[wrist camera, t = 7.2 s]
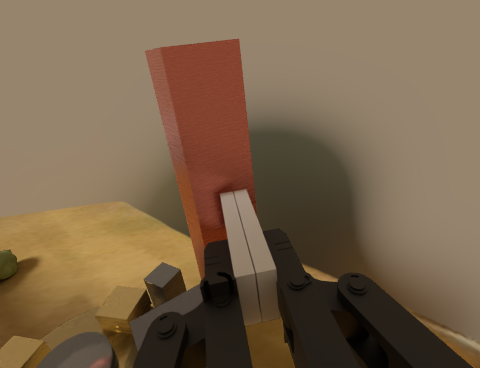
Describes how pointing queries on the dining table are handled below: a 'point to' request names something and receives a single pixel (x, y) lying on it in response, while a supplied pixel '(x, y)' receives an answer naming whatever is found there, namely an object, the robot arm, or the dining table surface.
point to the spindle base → (96, 344)
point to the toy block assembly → (189, 182)
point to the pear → (7, 264)
